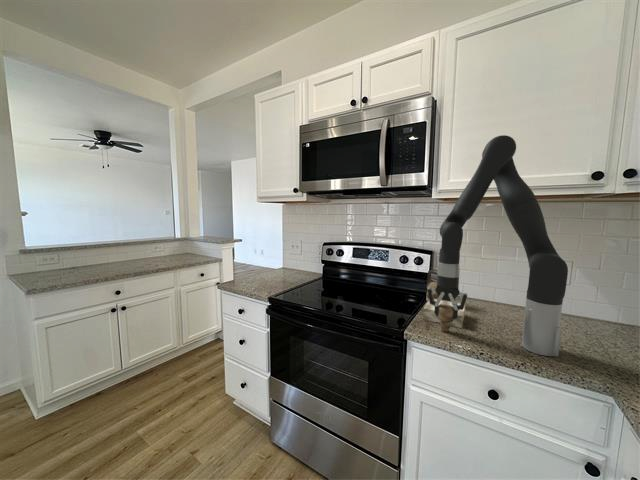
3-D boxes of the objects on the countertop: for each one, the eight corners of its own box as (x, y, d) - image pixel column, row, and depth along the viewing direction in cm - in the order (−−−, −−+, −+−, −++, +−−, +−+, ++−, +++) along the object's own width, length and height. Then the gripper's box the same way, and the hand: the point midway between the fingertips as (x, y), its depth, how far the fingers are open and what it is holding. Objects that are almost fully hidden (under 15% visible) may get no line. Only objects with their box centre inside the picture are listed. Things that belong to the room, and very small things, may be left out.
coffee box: (425, 300, 138) (427, 270, 136) (432, 298, 142) (434, 269, 140) (441, 305, 131) (443, 274, 129) (448, 303, 134) (450, 272, 133)
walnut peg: (453, 329, 103) (454, 306, 102) (451, 334, 99) (453, 310, 98) (438, 326, 106) (439, 303, 105) (436, 331, 102) (437, 307, 101)
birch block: (464, 315, 119) (465, 304, 118) (461, 328, 105) (462, 316, 105) (429, 308, 127) (430, 298, 126) (422, 319, 114) (423, 308, 113)
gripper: (470, 274, 99) (467, 317, 101) (429, 270, 107) (427, 310, 109) (469, 279, 93) (466, 324, 95) (426, 273, 101) (424, 316, 102)
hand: (445, 316), depth 102 cm, fingers closed on walnut peg, 5 cm apart
